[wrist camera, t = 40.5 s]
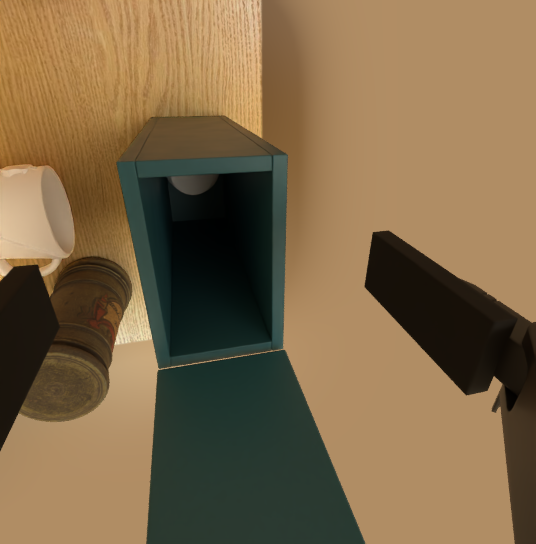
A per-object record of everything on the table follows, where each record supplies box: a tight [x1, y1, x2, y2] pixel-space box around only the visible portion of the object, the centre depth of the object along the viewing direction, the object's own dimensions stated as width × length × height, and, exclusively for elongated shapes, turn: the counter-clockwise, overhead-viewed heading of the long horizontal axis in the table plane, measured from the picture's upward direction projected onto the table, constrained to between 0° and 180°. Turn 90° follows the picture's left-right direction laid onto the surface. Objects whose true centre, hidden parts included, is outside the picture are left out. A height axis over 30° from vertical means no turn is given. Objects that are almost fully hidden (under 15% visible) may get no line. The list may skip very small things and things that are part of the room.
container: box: [19, 258, 132, 422], centre depth 38 cm, size 9×9×18 cm
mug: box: [0, 164, 75, 277], centre depth 36 cm, size 12×9×8 cm
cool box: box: [116, 116, 288, 369], centre depth 30 cm, size 13×8×26 cm, turn 0°
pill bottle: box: [167, 174, 219, 195], centre depth 35 cm, size 6×5×10 cm
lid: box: [146, 350, 365, 544], centre depth 18 cm, size 14×8×10 cm
